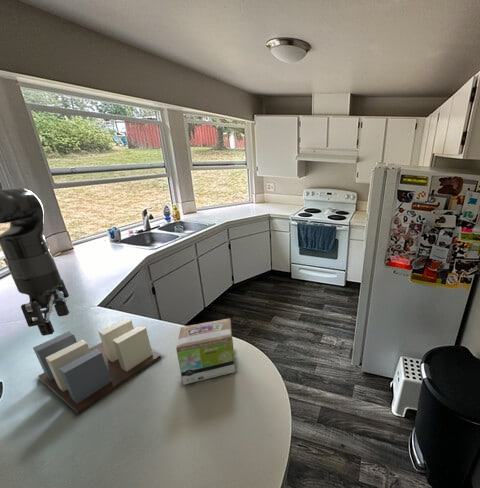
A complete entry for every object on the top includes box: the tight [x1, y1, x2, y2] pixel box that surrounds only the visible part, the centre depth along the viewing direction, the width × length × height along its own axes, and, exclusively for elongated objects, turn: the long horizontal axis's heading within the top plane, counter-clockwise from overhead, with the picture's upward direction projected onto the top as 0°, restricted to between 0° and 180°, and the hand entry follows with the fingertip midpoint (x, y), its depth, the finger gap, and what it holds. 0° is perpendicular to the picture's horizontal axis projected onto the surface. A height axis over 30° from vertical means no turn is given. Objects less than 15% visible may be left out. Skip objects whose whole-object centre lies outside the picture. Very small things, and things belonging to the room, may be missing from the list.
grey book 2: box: [59, 349, 111, 404], centre depth 70 cm, size 8×3×11 cm, turn 154°
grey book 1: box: [32, 331, 78, 380], centre depth 76 cm, size 8×3×11 cm, turn 154°
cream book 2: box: [98, 317, 135, 362], centre depth 83 cm, size 8×3×11 cm, turn 154°
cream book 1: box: [46, 339, 90, 391], centre depth 73 cm, size 8×3×11 cm, turn 154°
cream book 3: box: [112, 325, 153, 372], centre depth 80 cm, size 8×3×11 cm, turn 154°
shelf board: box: [37, 342, 162, 415], centre depth 80 cm, size 22×24×1 cm
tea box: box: [175, 318, 236, 386], centre depth 79 cm, size 15×10×15 cm
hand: (56, 324), depth 68 cm, fingers open, 8 cm apart
